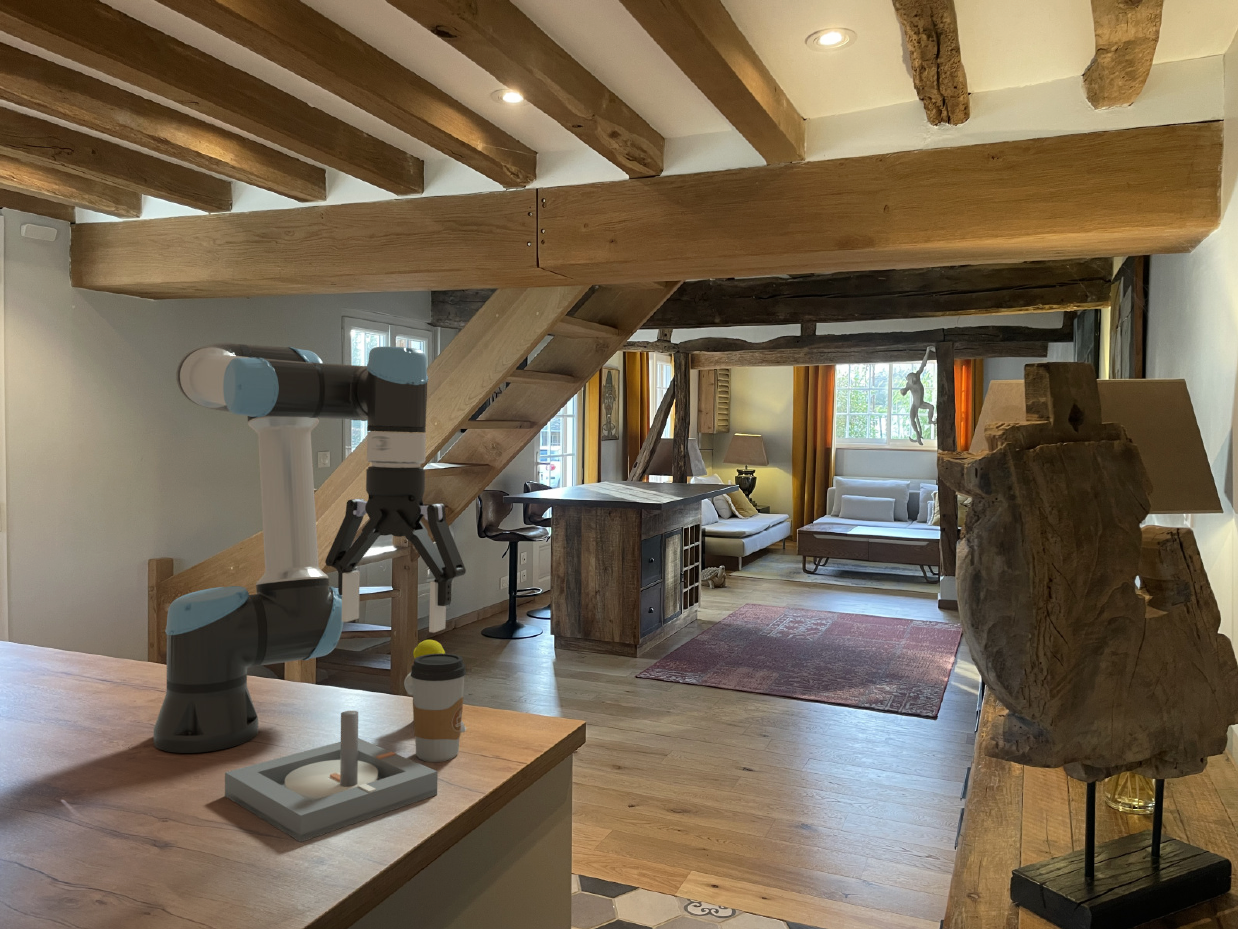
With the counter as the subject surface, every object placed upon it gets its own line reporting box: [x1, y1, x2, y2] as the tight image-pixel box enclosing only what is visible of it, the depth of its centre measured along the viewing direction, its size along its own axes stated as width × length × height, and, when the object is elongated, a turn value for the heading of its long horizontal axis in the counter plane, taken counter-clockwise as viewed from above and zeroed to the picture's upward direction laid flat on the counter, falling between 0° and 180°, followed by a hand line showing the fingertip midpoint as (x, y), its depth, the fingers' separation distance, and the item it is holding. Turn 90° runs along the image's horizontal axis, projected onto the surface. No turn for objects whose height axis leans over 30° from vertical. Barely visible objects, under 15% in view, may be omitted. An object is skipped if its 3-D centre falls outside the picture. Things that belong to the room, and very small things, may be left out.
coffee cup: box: [410, 653, 467, 763], centre depth 135 cm, size 8×8×15 cm
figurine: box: [403, 639, 467, 733], centre depth 147 cm, size 10×9×15 cm
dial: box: [285, 710, 378, 801], centre depth 119 cm, size 12×12×11 cm
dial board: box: [224, 737, 438, 843], centre depth 119 cm, size 20×20×3 cm
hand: (392, 625), depth 117 cm, fingers open, 13 cm apart
